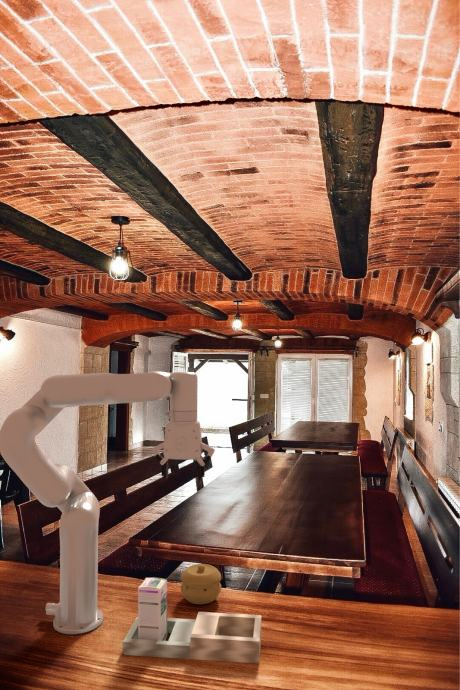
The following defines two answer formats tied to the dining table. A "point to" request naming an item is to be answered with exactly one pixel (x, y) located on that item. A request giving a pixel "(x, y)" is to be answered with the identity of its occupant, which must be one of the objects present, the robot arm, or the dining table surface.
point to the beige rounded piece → (201, 583)
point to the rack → (203, 639)
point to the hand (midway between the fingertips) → (183, 479)
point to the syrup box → (152, 609)
